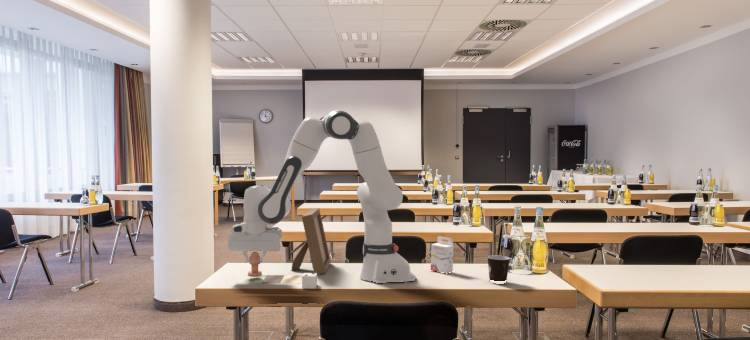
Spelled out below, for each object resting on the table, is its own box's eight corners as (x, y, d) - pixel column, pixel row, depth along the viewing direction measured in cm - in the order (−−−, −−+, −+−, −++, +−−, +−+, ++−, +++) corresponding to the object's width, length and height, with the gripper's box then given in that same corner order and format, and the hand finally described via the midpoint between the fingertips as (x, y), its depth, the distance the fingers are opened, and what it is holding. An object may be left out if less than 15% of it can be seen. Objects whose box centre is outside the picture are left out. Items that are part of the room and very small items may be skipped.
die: (316, 286, 188) (317, 272, 188) (315, 289, 183) (315, 276, 183) (303, 286, 188) (303, 272, 188) (302, 289, 183) (302, 276, 183)
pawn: (262, 273, 197) (263, 250, 197) (260, 276, 192) (260, 253, 192) (249, 273, 197) (249, 250, 197) (246, 276, 192) (246, 253, 191)
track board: (304, 276, 202) (304, 274, 202) (300, 285, 188) (300, 284, 188) (247, 275, 201) (247, 274, 201) (239, 284, 187) (239, 283, 187)
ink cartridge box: (429, 271, 215) (430, 237, 214) (436, 269, 218) (437, 235, 218) (447, 274, 209) (447, 239, 208) (453, 272, 213) (454, 238, 212)
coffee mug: (488, 278, 204) (488, 254, 203) (510, 281, 201) (510, 256, 200) (484, 285, 193) (485, 260, 192) (507, 288, 190) (508, 262, 189)
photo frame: (330, 263, 225) (331, 208, 224) (325, 275, 203) (325, 214, 202) (298, 262, 225) (298, 207, 224) (288, 274, 204) (289, 213, 203)
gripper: (283, 225, 197) (282, 260, 198) (230, 225, 196) (230, 260, 197) (280, 228, 191) (280, 264, 192) (226, 227, 190) (226, 263, 191)
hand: (254, 262), depth 194 cm, fingers closed on pawn, 4 cm apart
